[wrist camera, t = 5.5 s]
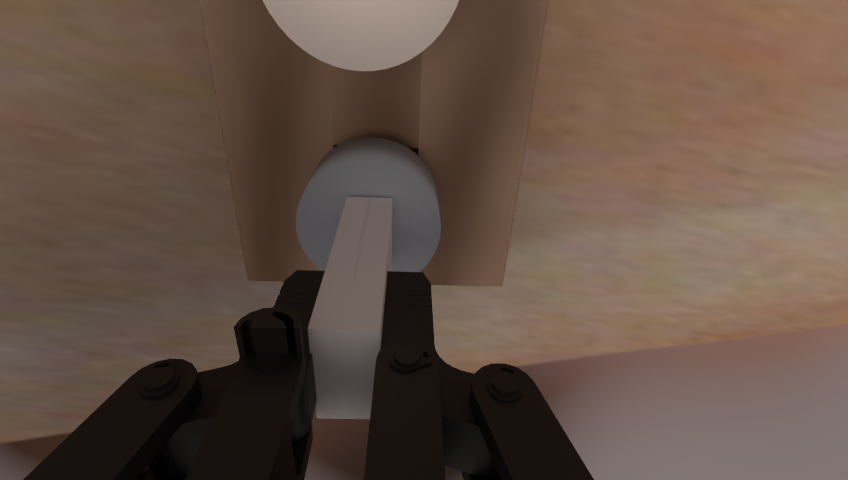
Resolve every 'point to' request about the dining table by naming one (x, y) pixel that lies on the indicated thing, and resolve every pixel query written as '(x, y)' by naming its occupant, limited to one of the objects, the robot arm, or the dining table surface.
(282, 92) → the panel
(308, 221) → the slate button
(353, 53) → the cream button
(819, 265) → the dining table surface
